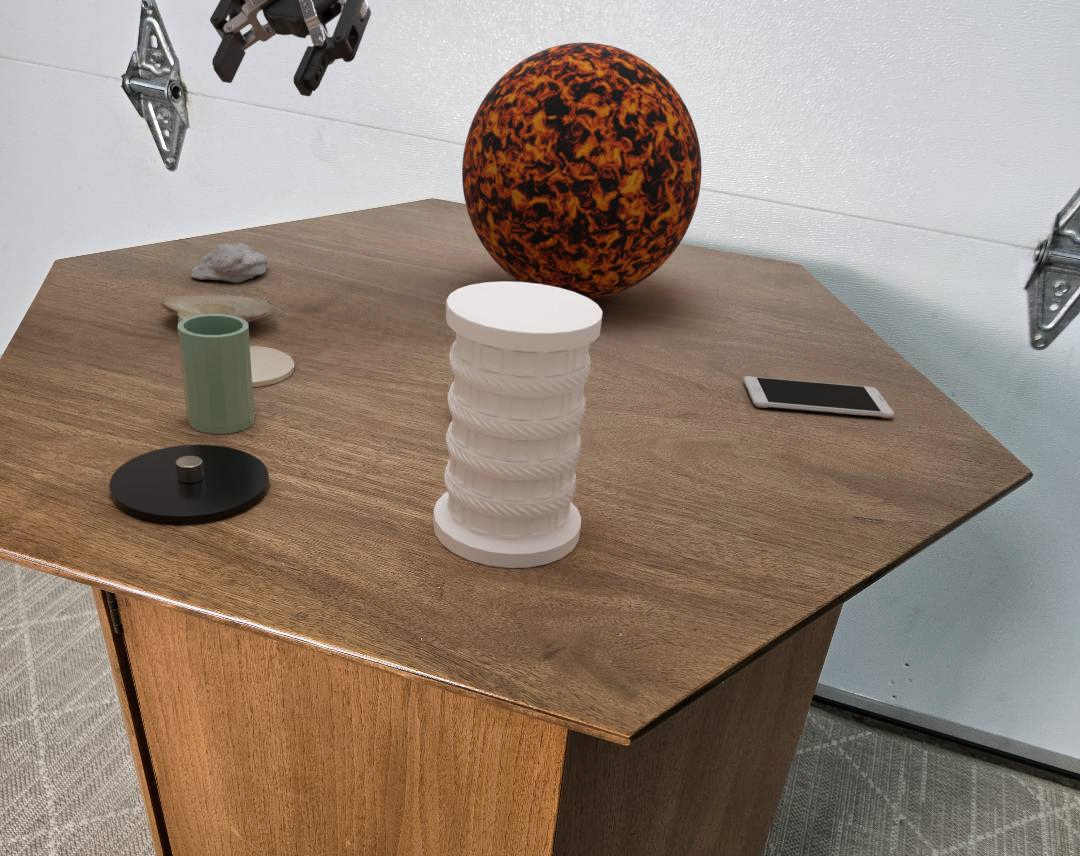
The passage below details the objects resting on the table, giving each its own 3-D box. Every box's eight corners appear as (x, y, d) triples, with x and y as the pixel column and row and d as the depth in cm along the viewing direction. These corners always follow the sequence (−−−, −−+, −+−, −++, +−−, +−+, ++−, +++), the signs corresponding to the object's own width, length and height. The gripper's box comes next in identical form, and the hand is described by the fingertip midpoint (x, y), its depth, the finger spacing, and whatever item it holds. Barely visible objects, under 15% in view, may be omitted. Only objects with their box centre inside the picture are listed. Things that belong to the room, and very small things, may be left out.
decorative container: (429, 564, 72) (437, 328, 62) (435, 488, 82) (443, 274, 72) (586, 571, 73) (617, 340, 63) (573, 495, 83) (599, 285, 73)
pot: (173, 421, 88) (162, 324, 83) (223, 401, 92) (215, 309, 88) (220, 440, 86) (211, 342, 81) (268, 419, 90) (262, 325, 85)
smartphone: (742, 375, 108) (875, 386, 109) (741, 380, 109) (874, 391, 109) (754, 402, 102) (896, 414, 102) (753, 408, 102) (894, 420, 103)
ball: (528, 344, 113) (552, 55, 97) (419, 269, 134) (425, 22, 118) (726, 320, 127) (775, 64, 111) (600, 256, 148) (626, 33, 132)
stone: (264, 242, 130) (274, 244, 121) (266, 278, 131) (276, 283, 123) (185, 241, 126) (190, 243, 117) (188, 278, 128) (193, 283, 119)
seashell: (239, 301, 117) (237, 277, 115) (294, 330, 110) (293, 305, 108) (145, 318, 109) (142, 293, 108) (199, 350, 102) (196, 324, 101)
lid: (77, 490, 76) (72, 464, 75) (198, 439, 85) (195, 415, 84) (184, 542, 71) (181, 515, 70) (300, 483, 80) (299, 458, 79)
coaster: (170, 368, 98) (169, 363, 98) (245, 343, 105) (244, 338, 105) (242, 396, 94) (241, 390, 93) (315, 368, 101) (314, 362, 101)
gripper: (244, -102, 90) (173, 41, 87) (379, -89, 87) (310, 62, 83) (280, -35, 97) (216, 101, 94) (407, -19, 94) (344, 123, 90)
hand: (260, 83), depth 89 cm, fingers open, 8 cm apart
